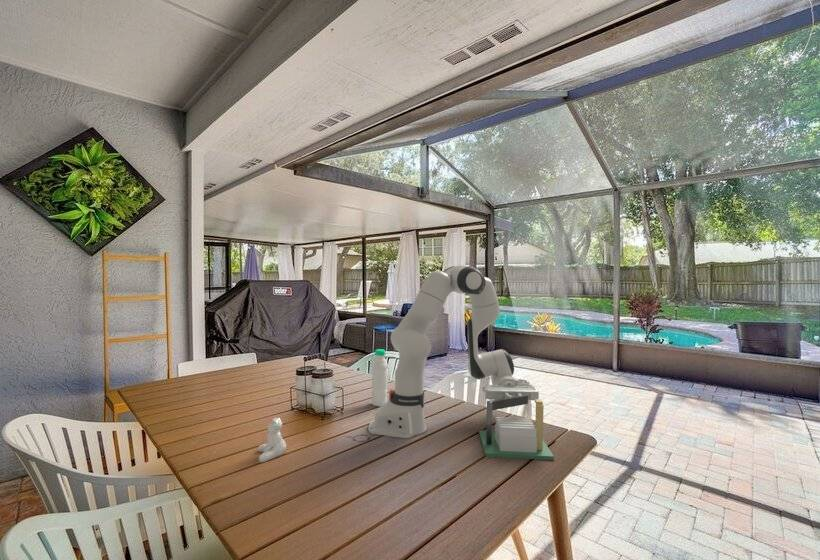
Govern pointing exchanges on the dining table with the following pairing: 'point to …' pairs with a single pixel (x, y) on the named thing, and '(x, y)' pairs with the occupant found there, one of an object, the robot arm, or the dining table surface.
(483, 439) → the board
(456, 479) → the dining table surface
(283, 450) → the white creature statuette
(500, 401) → the retention bar
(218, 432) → the dining table surface
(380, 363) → the water bottle
